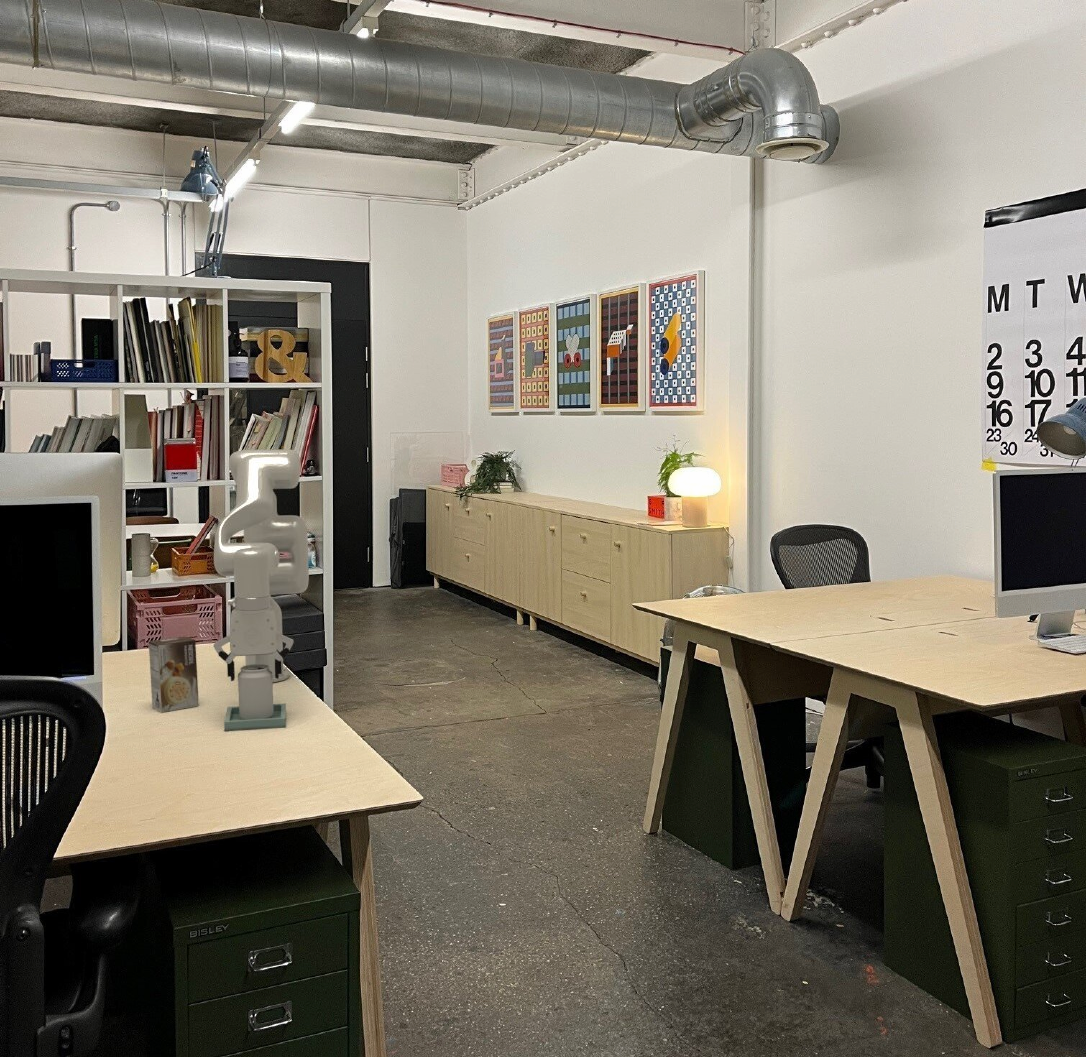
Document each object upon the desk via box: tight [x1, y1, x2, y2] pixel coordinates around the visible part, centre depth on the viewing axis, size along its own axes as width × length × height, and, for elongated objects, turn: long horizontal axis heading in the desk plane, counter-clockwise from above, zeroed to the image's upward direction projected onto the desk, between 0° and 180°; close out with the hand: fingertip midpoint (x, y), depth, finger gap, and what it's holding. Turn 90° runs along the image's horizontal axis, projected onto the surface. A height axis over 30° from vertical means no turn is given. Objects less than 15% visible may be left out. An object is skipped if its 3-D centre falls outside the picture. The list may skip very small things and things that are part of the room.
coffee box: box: [148, 635, 200, 713], centre depth 259 cm, size 9×6×16 cm
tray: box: [223, 703, 287, 732], centre depth 248 cm, size 13×13×2 cm
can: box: [237, 664, 274, 720], centre depth 247 cm, size 8×8×12 cm
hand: (255, 678), depth 247 cm, fingers open, 9 cm apart
